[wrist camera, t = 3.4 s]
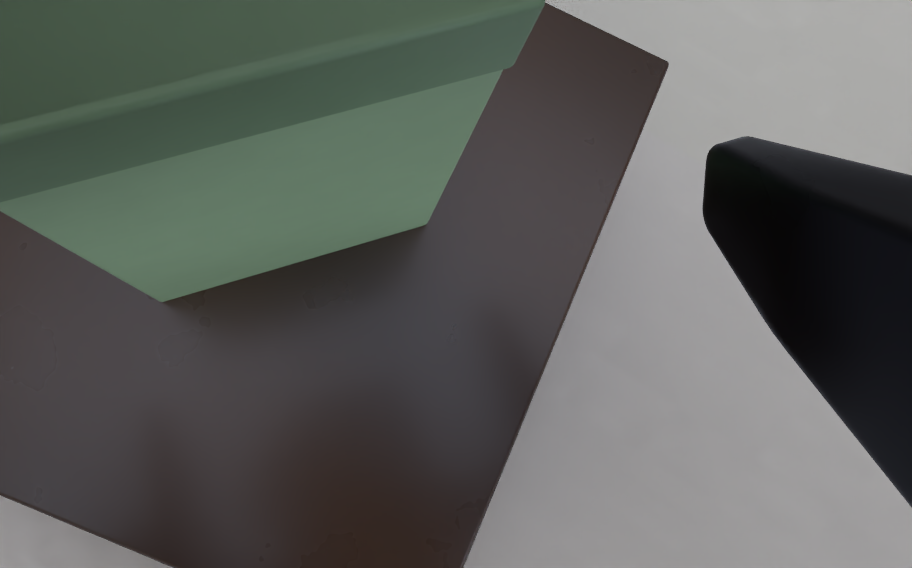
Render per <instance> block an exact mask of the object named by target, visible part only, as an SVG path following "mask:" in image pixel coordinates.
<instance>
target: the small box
mask: <svg viewBox="0 0 912 568" xmlns="http://www.w3.org/2000/svg"><path fill="white" fill-rule="evenodd" d="M544 6H545V0H0V211H1V212H3V213H4V214H6V215H8V216H10V217H11V218H13V219H15V220H17V221H18V222H20V223H22V224H24V225H25V226H27V227H29V228H31V229H33V230H34V231H36V232H38V233H40V234H41V235H43V236H45V237H47V238H48V239H50V240H52V241H54V242H55V243H57V244H59V245H61V246H62V247H64V248H66V249H68V250H70V251H71V252H73V253H75V254H77V255H78V256H80V257H82V258H84V259H85V260H87V261H89V262H91V263H92V264H94V265H96V266H98V267H100V268H101V269H103V270H105V271H107V272H108V273H110V274H112V275H114V276H115V277H117V278H119V279H121V280H122V281H124V282H126V283H128V284H129V285H131V286H133V287H135V288H137V289H138V290H140V291H142V292H144V293H145V294H147V295H149V296H151V297H152V298H154V299H156V300H158V301H159V302H164V301H168V300H171V299H175V298H178V297H182V296H185V295H188V294H192V293H195V292H199V291H202V290H205V289H209V288H212V287H216V286H219V285H222V284H226V283H229V282H233V281H236V280H240V279H243V278H246V277H250V276H253V275H257V274H260V273H263V272H267V271H270V270H274V269H277V268H280V267H284V266H287V265H291V264H294V263H298V262H301V261H304V260H308V259H311V258H315V257H318V256H321V255H325V254H328V253H332V252H335V251H338V250H342V249H345V248H349V247H352V246H356V245H359V244H362V243H366V242H369V241H373V240H376V239H379V238H383V237H386V236H390V235H393V234H397V233H400V232H403V231H407V230H410V229H414V228H417V227H420V226H424V225H426V224H427V223H428V221H429V219H430V217H431V215H432V213H433V211H434V209H435V207H436V205H437V203H438V201H439V199H440V197H441V195H442V193H443V191H444V189H445V187H446V185H447V183H448V181H449V179H450V177H451V175H452V173H453V171H454V169H455V167H456V164H457V162H458V160H459V158H460V156H461V154H462V152H463V150H464V148H465V146H466V144H467V142H468V140H469V138H470V136H471V134H472V132H473V130H474V128H475V126H476V124H477V122H478V120H479V118H480V116H481V114H482V112H483V110H484V108H485V106H486V104H487V102H488V100H489V98H490V96H491V94H492V92H493V90H494V88H495V85H496V83H497V81H498V79H499V77H500V75H501V73H502V71H503V69H507V68H510V67H511V66H513V65H514V63H515V62H516V60H517V58H518V56H519V54H520V52H521V50H522V48H523V46H524V44H525V42H526V40H527V38H528V36H529V34H530V33H531V31H532V29H533V27H534V25H535V23H536V21H537V19H538V17H539V15H540V13H541V11H542V9H543V7H544Z"/></svg>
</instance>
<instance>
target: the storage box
mask: <svg viewBox="0 0 912 568" xmlns="http://www.w3.org/2000/svg"><path fill="white" fill-rule="evenodd" d="M668 65H669V63H668V62H667V61H665V60H663V59H661V58H659V57H657V56H655V55H653V54H651V53H648V52H646V51H644V50H642V49H640V48H638V47H636V46H634V45H632V44H630V43H628V42H626V41H624V40H622V39H619V38H617V37H615V36H613V35H611V34H609V33H607V32H605V31H603V30H601V29H599V28H597V27H595V26H592V25H590V24H588V23H586V22H584V21H582V20H580V19H578V18H576V17H574V16H572V15H570V14H568V13H566V12H563V11H561V10H559V9H557V8H555V7H553V6H551V5H549V4H547V3H545V6H544V7H543V9H542V11H541V13H540V15H539V17H538V19H537V21H536V23H535V25H534V27H533V29H532V31H531V33H530V34H529V36H528V38H527V40H526V42H525V44H524V46H523V48H522V50H521V52H520V54H519V56H518V58H517V60H516V62H515V63H514V65H513V66H511V67H510V68H507V69H503V71H502V73H501V75H500V77H499V79H498V81H497V83H496V85H495V88H494V90H493V92H492V94H491V96H490V98H489V100H488V102H487V104H486V106H485V108H484V110H483V112H482V114H481V116H480V118H479V120H478V122H477V124H476V126H475V128H474V130H473V132H472V134H471V136H470V138H469V140H468V142H467V144H466V146H465V148H464V150H463V152H462V154H461V156H460V158H459V160H458V162H457V164H456V167H455V169H454V171H453V173H452V175H451V177H450V179H449V181H448V183H447V185H446V187H445V189H444V191H443V193H442V195H441V197H440V199H439V201H438V203H437V205H436V207H435V209H434V211H433V213H432V215H431V217H430V219H429V221H428V223H427V224H426V225H424V226H420V227H417V228H414V229H410V230H407V231H403V232H400V233H397V234H393V235H390V236H386V237H383V238H379V239H376V240H373V241H369V242H366V243H362V244H359V245H356V246H352V247H349V248H345V249H342V250H338V251H335V252H332V253H328V254H325V255H321V256H318V257H315V258H311V259H308V260H304V261H301V262H298V263H294V264H291V265H287V266H284V267H280V268H277V269H274V270H270V271H267V272H263V273H260V274H257V275H253V276H250V277H246V278H243V279H240V280H236V281H233V282H229V283H226V284H222V285H219V286H216V287H212V288H209V289H205V290H202V291H199V292H195V293H192V294H188V295H185V296H182V297H178V298H175V299H171V300H168V301H164V302H159V301H158V300H156V299H154V298H152V297H151V296H149V295H147V294H145V293H144V292H142V291H140V290H138V289H137V288H135V287H133V286H131V285H129V284H128V283H126V282H124V281H122V280H121V279H119V278H117V277H115V276H114V275H112V274H110V273H108V272H107V271H105V270H103V269H101V268H100V267H98V266H96V265H94V264H92V263H91V262H89V261H87V260H85V259H84V258H82V257H80V256H78V255H77V254H75V253H73V252H71V251H70V250H68V249H66V248H64V247H62V246H61V245H59V244H57V243H55V242H54V241H52V240H50V239H48V238H47V237H45V236H43V235H41V234H40V233H38V232H36V231H34V230H33V229H31V228H29V227H27V226H25V225H24V224H22V223H20V222H18V221H17V220H15V219H13V218H11V217H10V216H8V215H6V214H4V213H3V212H1V211H0V495H1V496H3V497H5V498H8V499H10V500H13V501H15V502H17V503H20V504H22V505H25V506H27V507H29V508H32V509H34V510H37V511H39V512H41V513H44V514H46V515H49V516H51V517H53V518H56V519H58V520H60V521H63V522H65V523H68V524H70V525H72V526H75V527H77V528H80V529H82V530H84V531H87V532H89V533H92V534H94V535H96V536H99V537H101V538H103V539H106V540H108V541H111V542H113V543H115V544H118V545H120V546H123V547H125V548H127V549H130V550H132V551H135V552H137V553H139V554H142V555H144V556H147V557H149V558H151V559H154V560H156V561H158V562H161V563H163V564H166V565H168V566H170V567H173V568H463V567H464V564H465V562H466V560H467V557H468V555H469V552H470V550H471V547H472V545H473V542H474V540H475V538H476V535H477V533H478V530H479V528H480V525H481V523H482V520H483V518H484V516H485V513H486V511H487V508H488V506H489V503H490V501H491V499H492V496H493V494H494V491H495V489H496V486H497V484H498V481H499V479H500V477H501V474H502V472H503V469H504V467H505V464H506V462H507V459H508V457H509V455H510V452H511V450H512V447H513V445H514V442H515V440H516V437H517V435H518V433H519V430H520V428H521V425H522V423H523V420H524V418H525V415H526V413H527V411H528V408H529V406H530V403H531V401H532V398H533V396H534V393H535V391H536V389H537V386H538V384H539V381H540V379H541V376H542V374H543V371H544V369H545V367H546V364H547V362H548V359H549V357H550V354H551V352H552V350H553V347H554V345H555V342H556V340H557V337H558V335H559V332H560V330H561V328H562V325H563V323H564V320H565V318H566V315H567V313H568V310H569V308H570V306H571V303H572V301H573V298H574V296H575V293H576V291H577V288H578V286H579V284H580V281H581V279H582V276H583V274H584V271H585V269H586V266H587V264H588V262H589V259H590V257H591V254H592V252H593V249H594V247H595V244H596V242H597V240H598V237H599V235H600V232H601V230H602V227H603V225H604V223H605V220H606V218H607V215H608V213H609V210H610V208H611V205H612V203H613V201H614V198H615V196H616V193H617V191H618V188H619V186H620V183H621V181H622V179H623V176H624V174H625V171H626V169H627V166H628V164H629V161H630V159H631V157H632V154H633V152H634V149H635V147H636V144H637V142H638V139H639V137H640V135H641V132H642V130H643V127H644V125H645V122H646V120H647V117H648V115H649V113H650V110H651V108H652V105H653V103H654V100H655V98H656V96H657V93H658V91H659V88H660V86H661V83H662V81H663V78H664V76H665V74H666V71H667V69H668Z"/></svg>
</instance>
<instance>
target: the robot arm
mask: <svg viewBox="0 0 912 568" xmlns="http://www.w3.org/2000/svg"><path fill="white" fill-rule="evenodd" d="M703 217H704V221H705V224H706V227H707V229H708V231H709V233H710V234H711V236H712V238H713V239H714V241H715V242H716V244H717V246H718V247H719V249H720V250H721V252H722V253H723V255H724V257H725V258H726V260H727V261H728V263H729V265H730V266H731V268H732V269H733V271H734V273H735V274H736V276H737V277H738V279H739V281H740V282H741V284H742V285H743V287H744V289H745V290H746V292H747V293H748V295H749V297H750V298H751V300H752V301H753V303H754V305H755V306H756V308H757V309H758V311H759V313H760V314H761V316H762V317H763V319H764V320H765V322H766V323H767V325H768V326H769V328H770V329H771V331H772V332H773V334H774V335H775V336H776V337H777V339H778V340H779V341H780V343H781V344H782V345H783V347H784V348H785V349H786V351H787V352H788V353H789V354H790V356H791V357H792V358H793V359H794V361H795V362H796V363H797V364H798V366H799V367H800V368H801V369H802V371H803V372H804V373H805V374H806V376H807V377H808V378H809V379H810V381H811V382H812V383H813V384H814V386H815V387H816V388H817V389H818V391H819V392H820V393H821V394H822V396H823V397H824V398H825V399H826V401H827V402H828V403H829V404H830V406H831V407H832V408H833V409H834V411H835V412H836V413H837V414H838V416H839V417H840V418H841V419H842V421H843V422H844V423H845V424H846V426H847V427H848V428H849V430H850V431H851V432H852V433H853V435H854V436H855V437H856V438H857V440H858V441H859V442H860V443H861V445H862V446H863V447H864V448H865V450H866V451H867V452H868V453H869V455H870V456H871V457H872V458H873V460H874V461H875V462H876V463H877V465H878V466H879V467H880V468H881V470H882V471H883V472H884V473H885V475H886V476H887V477H888V478H889V480H890V481H891V482H892V483H893V485H894V486H895V487H896V488H897V490H898V491H899V492H900V493H901V495H902V496H903V497H904V498H905V500H906V501H907V502H908V503H909V505H910V506H911V507H912V175H908V174H903V173H899V172H895V171H891V170H887V169H883V168H878V167H874V166H870V165H866V164H862V163H858V162H854V161H849V160H845V159H841V158H837V157H833V156H829V155H824V154H820V153H816V152H812V151H808V150H804V149H800V148H795V147H791V146H787V145H783V144H779V143H775V142H770V141H766V140H762V139H758V138H754V137H749V136H747V137H740V138H737V139H733V140H730V141H727V142H723V143H720V144H717V145H715V146H713V147H712V148H711V149H710V151H709V153H708V155H707V160H706V171H705V184H704V197H703Z"/></svg>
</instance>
